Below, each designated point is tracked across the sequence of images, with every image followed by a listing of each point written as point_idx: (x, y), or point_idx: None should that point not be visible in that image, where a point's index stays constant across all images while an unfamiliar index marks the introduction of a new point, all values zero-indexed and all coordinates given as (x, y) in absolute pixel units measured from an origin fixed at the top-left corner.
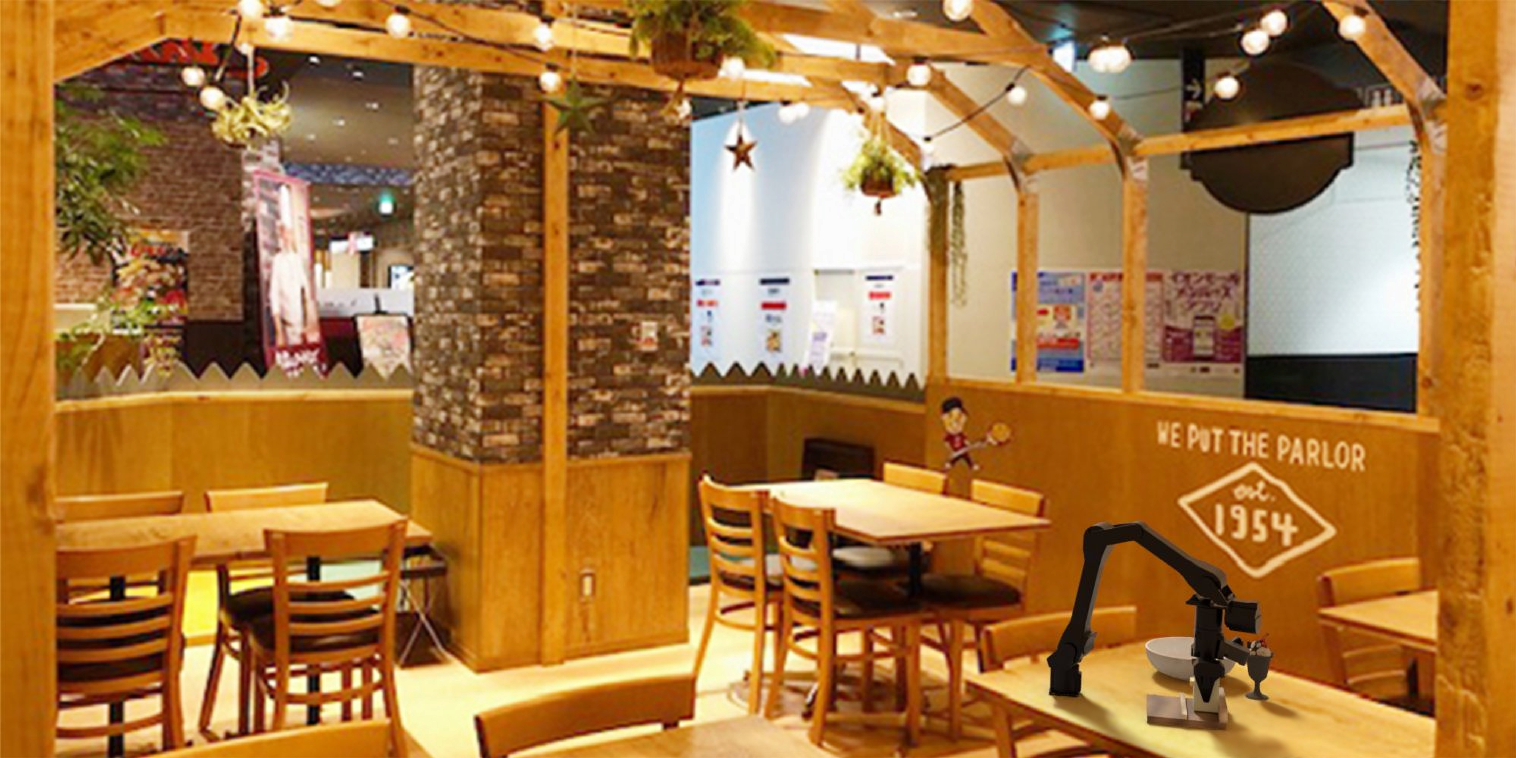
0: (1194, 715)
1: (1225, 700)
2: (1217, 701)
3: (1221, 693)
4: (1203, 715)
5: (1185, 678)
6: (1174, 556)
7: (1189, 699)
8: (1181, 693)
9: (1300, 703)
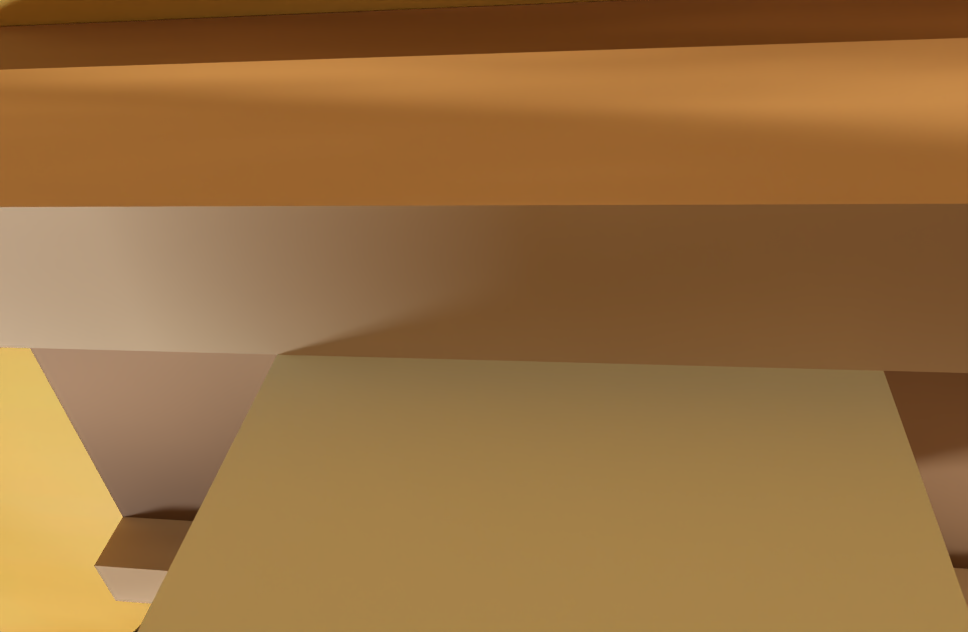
0: (927, 493)
1: (819, 214)
2: (869, 376)
3: (166, 271)
4: (910, 394)
5: None
6: None
7: (164, 481)
8: (136, 591)
9: None
